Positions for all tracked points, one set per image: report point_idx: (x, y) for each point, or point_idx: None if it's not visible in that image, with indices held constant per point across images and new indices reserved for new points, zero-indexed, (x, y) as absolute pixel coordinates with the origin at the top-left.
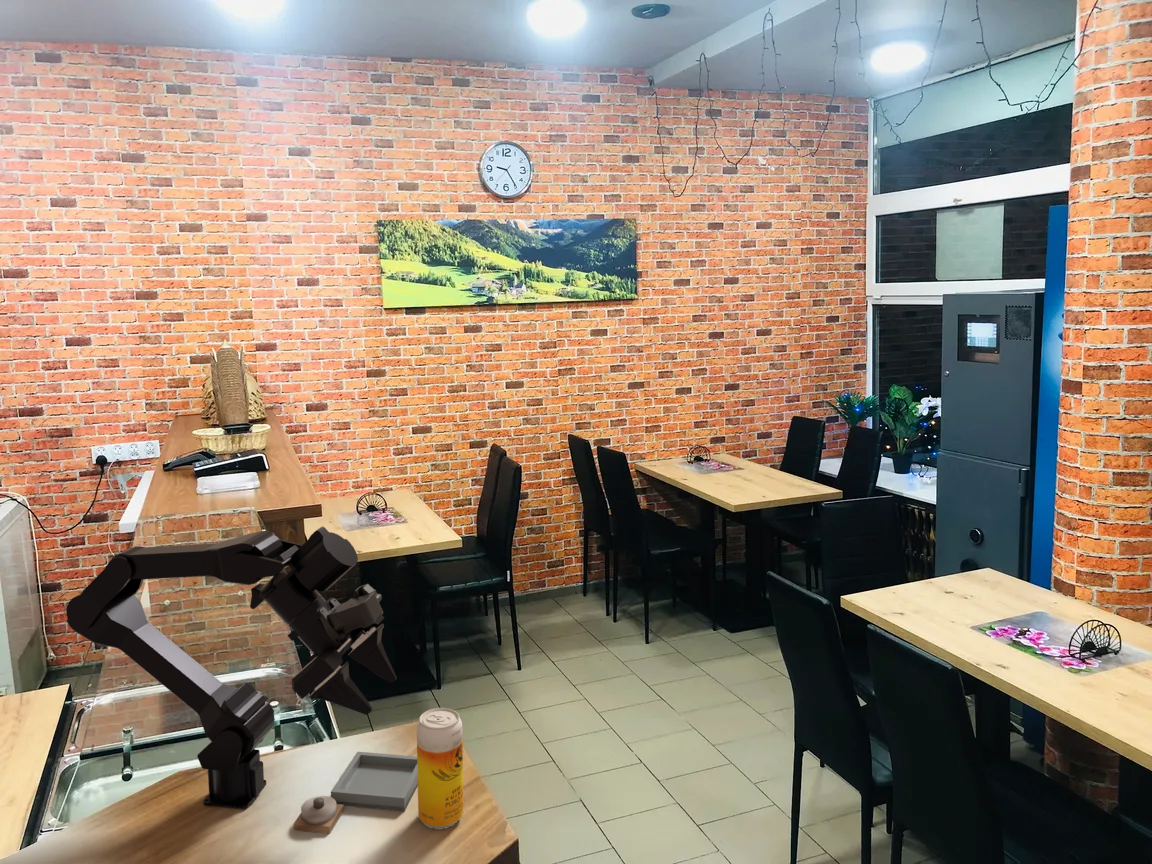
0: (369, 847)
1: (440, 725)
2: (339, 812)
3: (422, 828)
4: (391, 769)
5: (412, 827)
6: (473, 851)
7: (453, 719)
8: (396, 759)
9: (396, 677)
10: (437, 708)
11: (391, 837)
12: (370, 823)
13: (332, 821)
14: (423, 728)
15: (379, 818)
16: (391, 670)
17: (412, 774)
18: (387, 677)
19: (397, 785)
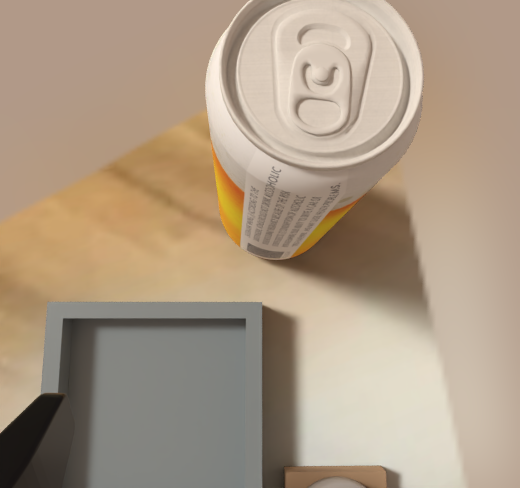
0: (411, 345)
1: (378, 55)
2: (316, 470)
3: (319, 241)
4: (86, 397)
5: (319, 266)
6: None
7: (306, 10)
8: (60, 390)
9: (45, 393)
10: (229, 99)
11: (365, 304)
12: (321, 375)
13: (363, 473)
14: (405, 135)
15: (298, 359)
16: (24, 448)
17: (144, 314)
18: (57, 468)
19: (165, 353)
